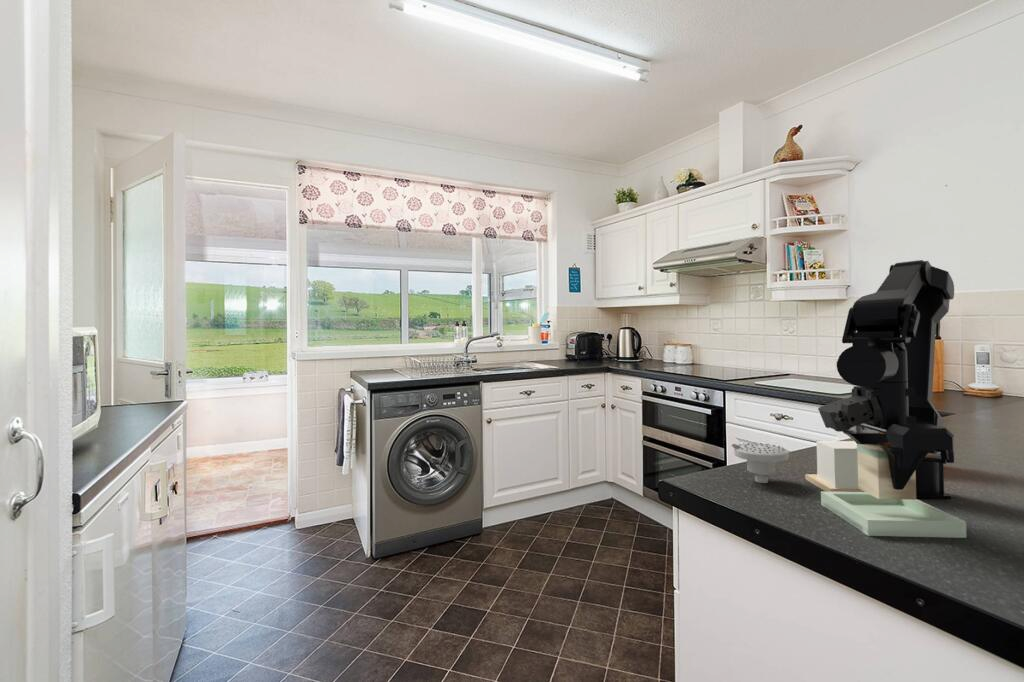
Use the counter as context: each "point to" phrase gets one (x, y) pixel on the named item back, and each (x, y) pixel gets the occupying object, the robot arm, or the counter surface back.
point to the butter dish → (836, 467)
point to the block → (880, 474)
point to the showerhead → (761, 458)
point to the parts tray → (892, 516)
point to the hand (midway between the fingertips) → (885, 483)
